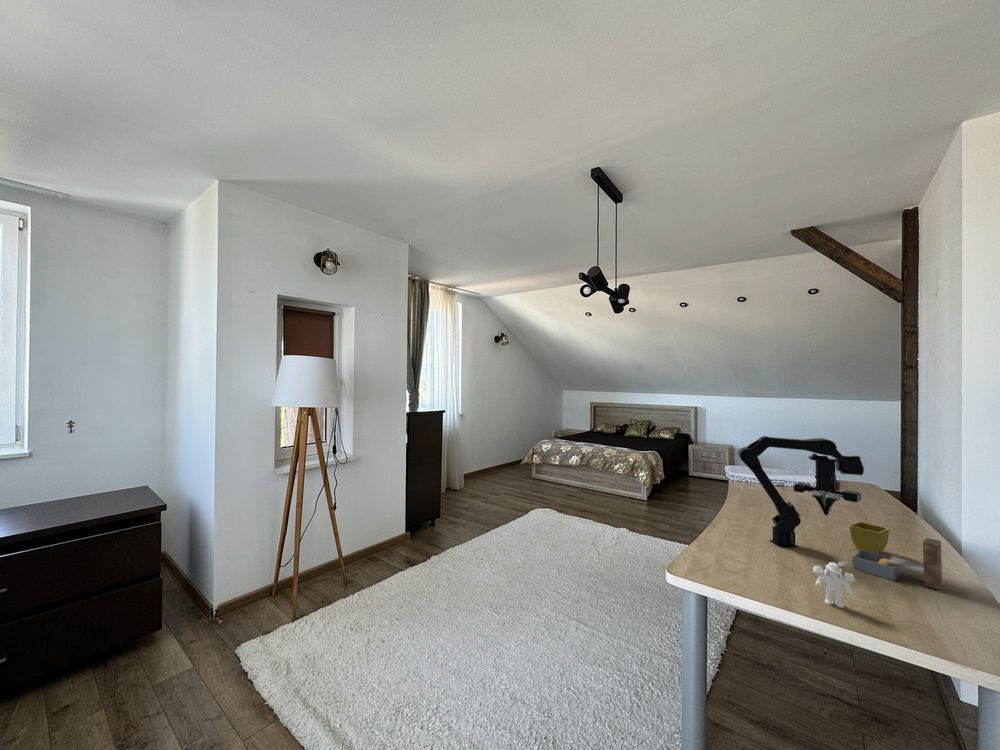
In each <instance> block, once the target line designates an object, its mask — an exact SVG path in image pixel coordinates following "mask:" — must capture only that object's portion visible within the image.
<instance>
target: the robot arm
mask: <svg viewBox="0 0 1000 750" xmlns="http://www.w3.org/2000/svg"><path fill="white" fill-rule="evenodd" d="M768 448H776V449H787V450H798V451H799V450H800V451H801V450H802V451H807V452H810V453H812V454H811V455H809V456H808V457H807V458H808V459H809V460H810V461H815V464H814V465H815V475H814V478H815V486H812V485H811V484H810V483H806V482H797V483H795V484H793V492H797V493H802V494H803V493H805V492H812V494H811V497H812V498H814V499H815V500H816V501H817V503H818V505H819V506H820V508H821V510H822V512H823V514H824V516H827V517H828V516H829V515H830V512H831V510H832V507H833V505H834V504H835V502H837V501H839V500H841V498H842V499H844V501H847V502H851V503H858V502H861V500H862V494H861V493H860V491H855V490H850V489H846V490H843V491H841V481H840V480H838V479H837V474H836V471H837V472H839V473H840V475H852V476H853V475H854V476H863V474H864V471H865V468H864V465H863V463H862V459H861V457H860V456H859V455H842V454H841V452H840V451H839V450H838V447H837V445H836V443H835V442H834V441H832V440H831V439H827V438H824V437H820V438H819V437H818V438H807V439H797V438H785V437H775V436H774V437H773V436H767V435H762V436H761V437H759V438H758V439H757V440H755V441H753V442H752V443H750V444H749V445H748V446H743V447H741V448H739V450H738V452H737V455H738V457H739V459H740V461H742V463H744V464H745V466H746V467H747V468H748V469H749V470H750V471H751V472H752V473H753V475H754V477H756V480H757V481H758V482H759V483H760V485H761V487H762V488H763V490H764V491H765V492H766V494H767V496H768V497H769V499H770V500H771V501H772V503H773V506H774V508H775V511H776V513H777V514H776V515H775V516H773V517H772V518H771V520H772V522H773V524H774V526H771V527H772V539H770V540H769V542H770V541H771V543H772V542H773V544H774V545H776V546H778V547H779V548H782V547H783V548H784V547H785V548H798V547H799V546H798V545H796V533H795V530H796V528H797V527H799V526H800V524H801V521H802V520H801V518H800V517H801V514H800V512H798V511H797V510H796V507H795V505H794V504H793V503H792V502H791V501H788V502H786V501H785V500H784V498H783V497H782V496H781V494H780V493H779V491H778V489H777V488H776V487H775V485H774V484H773V482H772V481H771V479H770V478H769V476H768V475H767V473H766V472H765V470H764V469H763V467H762V463H761V462H760V459H759V456H760V455H762V454H763V453H764V452H765V451H766V450H767V449H768ZM818 454H819V455H818ZM828 456H829V457H832V458H829V457H828Z"/></svg>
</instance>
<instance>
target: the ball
mask: <svg viewBox="0 0 1000 750" xmlns="http://www.w3.org/2000/svg"><path fill="white" fill-rule="evenodd" d="M888 561H889V559H881V560H879V562H878V563H880V564H884V565H888V566H891V567H892V566H893V564H889V563H888Z"/></svg>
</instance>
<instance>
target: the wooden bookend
mask: <svg viewBox="0 0 1000 750" xmlns="http://www.w3.org/2000/svg"><path fill="white" fill-rule="evenodd" d="M941 542H942V541H941V540H938V539H934V538H928V537H926V538H924V540H923V541H922V553H923V554H922V556H923V557H922V560H923V563H919V562H917V561H912V560H908V559H905V558H901V557H897V556H894V555H893V556H891V557H892V558H891V559H890V560H889V561H888V563H889V564H893V565H896V566H900V567H901V568H905V569H908V570H912V571H916V572H918V573H919V572H920V573H923V584H924V585H923V586H924V587H926V586H927V588H930V587H931V588H930V589H934V588H935V589H934V590H937V589H938V591H940V589H941V588H942V586H943V572H942V571H943V567H942V543H941ZM941 585H942V586H941ZM940 587H941V588H940Z"/></svg>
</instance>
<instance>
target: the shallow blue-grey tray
mask: <svg viewBox="0 0 1000 750" xmlns="http://www.w3.org/2000/svg"><path fill="white" fill-rule="evenodd" d="M891 558H892V556H887V555H884V554H880V553H878V554H877V553H873V552H869V551H865V550H861V549H860V550H858V551H857V552H856V553H855V554H853V555H852V557H851V562H852V564H851V565H852V568H851V569H852V570H856V571H860V572H863V573H866V574H869V575H872V576H873V575H874V576H877V577H880V578H883V579H886V580H890V581H896V580H897V578H898V577H899V576H900V575H901V574H902V572H903V571H902V567H900V566H896V565H893V566H892V567H891V566H888V565H884V564H880V563H878V562H879V560H881V559H889V560H890V559H891Z"/></svg>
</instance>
